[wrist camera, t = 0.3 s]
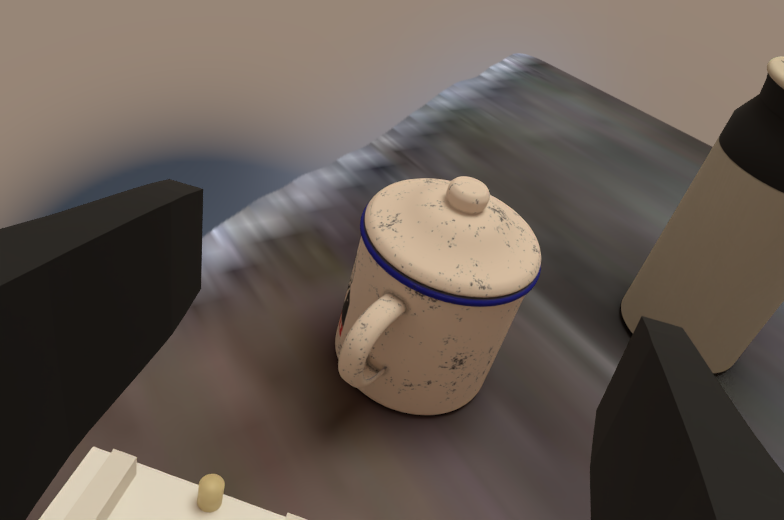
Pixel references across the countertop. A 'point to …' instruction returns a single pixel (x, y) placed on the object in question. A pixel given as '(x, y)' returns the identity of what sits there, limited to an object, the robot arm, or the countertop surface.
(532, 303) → the countertop surface
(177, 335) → the countertop surface
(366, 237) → the teacup with lid
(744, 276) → the travel mug
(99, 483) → the cream flat piece
